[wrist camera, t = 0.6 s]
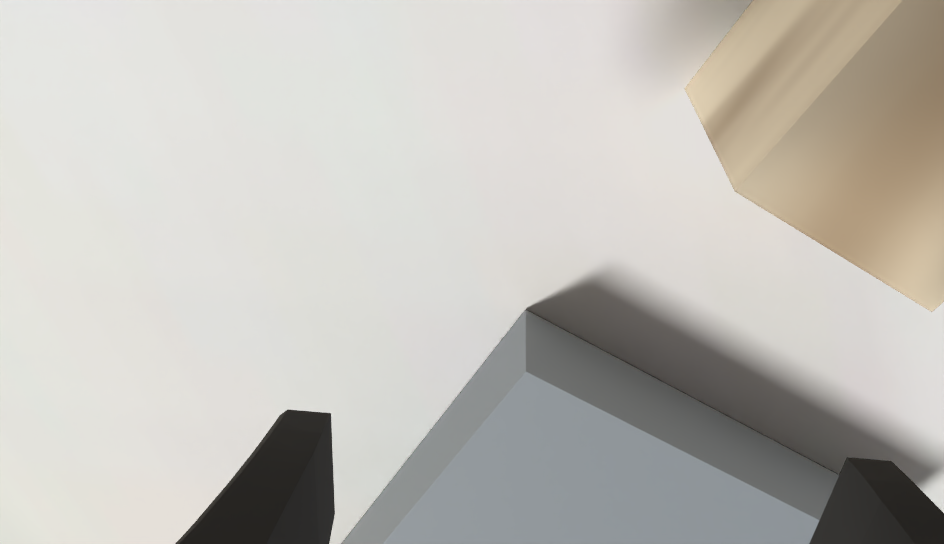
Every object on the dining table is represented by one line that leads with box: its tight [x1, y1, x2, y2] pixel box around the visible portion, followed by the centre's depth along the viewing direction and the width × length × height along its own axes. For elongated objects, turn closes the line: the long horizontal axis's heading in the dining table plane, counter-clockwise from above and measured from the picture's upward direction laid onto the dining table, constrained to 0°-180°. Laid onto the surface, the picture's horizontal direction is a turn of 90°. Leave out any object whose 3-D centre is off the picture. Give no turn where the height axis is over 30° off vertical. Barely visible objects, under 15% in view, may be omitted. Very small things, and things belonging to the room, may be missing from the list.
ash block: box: [685, 0, 944, 312], centre depth 15 cm, size 4×4×5 cm
